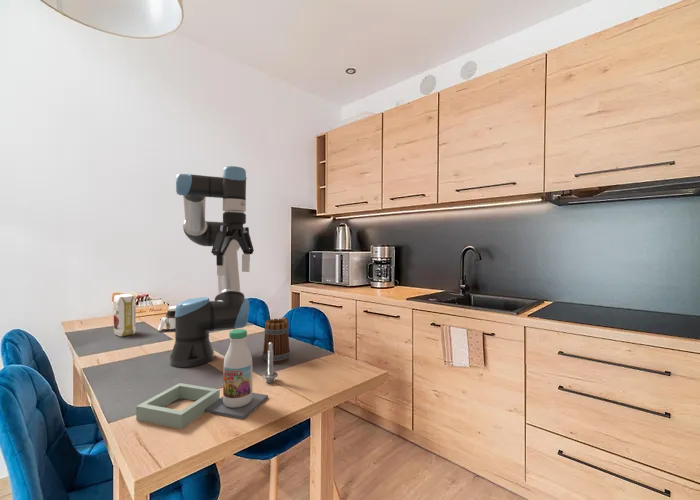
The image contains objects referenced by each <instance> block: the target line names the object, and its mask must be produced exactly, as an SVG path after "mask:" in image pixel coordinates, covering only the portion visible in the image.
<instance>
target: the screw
mask: <svg viewBox="0 0 700 500" xmlns="http://www.w3.org/2000/svg"><path fill="white" fill-rule="evenodd" d="M267 361H268V363H267V372H265V373H263V374H262V378H263V379H265V381H266V383H267V384H271V383H272V384H273V383H274V382H275V379H276V378H277V377H279V374H278V372H276V371H274V364H273V344H272V343H271V342H270V343H269V345H268V360H267Z"/></svg>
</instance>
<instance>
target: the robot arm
mask: <svg viewBox="0 0 700 500" xmlns="http://www.w3.org/2000/svg"><path fill="white" fill-rule="evenodd" d="M247 178H248V177H247V171H246V169H245V168H243V167H241V166H233V165H231V166H230V165H229V166H225V167H223V171H222V177H221V176H212V175H211V176H210V175H201V174H192V173H178V174H176V177H175V190H176V194H177V195H179V196H182V197H183V207H184V209H183V210H184V219H185V220H184V221H183V223H182V224H183V225H182V229H183V233H184V234H185V236H186V237H187V238H188V239H189V240H190V241H191V242H193V243H194V244H196V245H199V246H202V247H212V249H211V252H210V253H211V254H212V255H213V256H215V257H216V260H215V261H216V275H217V288H218V289H217V290H218V294H216V296H215V297H214V300H210V298H209V297H205V296H204V297H196V298H195V297H194V298H189V299H185V300H182V301H181V302H179V303H177V304H176V305H175V306H176V312H175V317H176V322H175V331H174V332H175V334H174V335H175V336H174V338H175V339H174V344H173V348H172V351H171V353H170V356H169V365H171V366H173V367H175V368H176V367H177V368H189V367H197V366H200V365H204V364H206V363H210V362H211V361H212V360H213V359H214V358H215V357H214V356H215V352H214V349H213V346H212V343H211V340H210V332H217V331H226V330H228V331H229V330H236V329H244V328H245V327H246V326H247V325H248V321H249V311H250V299H249V298H245V294H244V292H241V285H240V273H239V272H240V271H239V261H238V260H239V259H238V251H239V250H240V249H241V252H243V253H242V254H241V273H243V272H244V273H250V261H251V255H253V253H254V246H253V243H252V239H251V236H250V229H249V227H248V226H244V225H245V224H247V214H246V211H247V209H246V208H247V201H246V200H247V197H246V196H247ZM206 198H217V199H218V198H219V199H222V211H223V213H222V221H208V220H207V221H206Z"/></svg>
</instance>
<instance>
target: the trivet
mask: <svg viewBox="0 0 700 500" xmlns="http://www.w3.org/2000/svg"><path fill="white" fill-rule="evenodd" d="M268 398H269V395H268V394H263V393H258V392H252V400H251V402H250V403H249V404H247V405H245V406H242V407H237V408H230V407H227V406H225V405H224V403H223V396H220V399H219V400H217V401H216V402H214V403H213V404H211V405H210V406H209V407H207V408H206V409H205V412H204V413H208V414H210V415H211V414H213V415H216V416H217V415H218V416H223V417H228V418H234V419H241V420H246V418H247V417H249V415H251V414H252V413H253V412H254V411H255V410H256V409H257V408H258V407H260V406H261V405H262V404H263V403H264V402H265V401H267V399H268Z"/></svg>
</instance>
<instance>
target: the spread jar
mask: <svg viewBox="0 0 700 500" xmlns="http://www.w3.org/2000/svg"><path fill="white" fill-rule="evenodd" d="M176 306H177V305H172V306H169V307H168V311H167V312H166V315H165V317H164V316H162V317H161V320H160V322H159V325H158V329H157V330H158V331H159V332H162V330H163V329H164V325H165V328H166V330H167V331H168V332H175V322H176V317H175V312H176Z"/></svg>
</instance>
